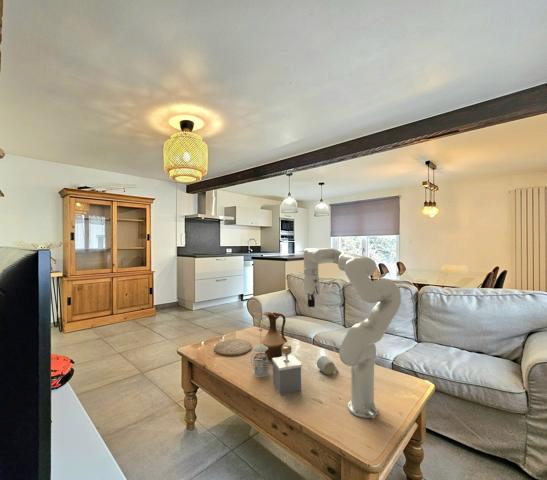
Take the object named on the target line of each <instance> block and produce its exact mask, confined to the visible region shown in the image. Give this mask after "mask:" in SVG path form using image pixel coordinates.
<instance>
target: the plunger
mask: <svg viewBox="0 0 547 480" xmlns="http://www.w3.org/2000/svg"><path fill="white" fill-rule="evenodd" d="M281 352H282V355H283V354H284V356H285V363H287V362H288V356H289V354H290V355H291V354H292V346H291V345H287V344H286V345H283V346H282V347H281Z"/></svg>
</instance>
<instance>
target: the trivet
mask: <svg viewBox="0 0 547 480" xmlns="http://www.w3.org/2000/svg"><path fill="white" fill-rule="evenodd" d="M251 350H252V343H251V342H250V341H248V340H245V339H240V338H239V339H238V338H233V339H225V340H222V341H220V342H217V343H216V344H215V345H214V350H213V351H214V353H215V354H217V355H219V356H222V355H223V357H238V356H243V355H245V354H247V353H249V352H251Z"/></svg>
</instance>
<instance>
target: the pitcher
mask: <svg viewBox="0 0 547 480" xmlns="http://www.w3.org/2000/svg"><path fill="white" fill-rule="evenodd" d="M261 315H263V316H266V317H267V318H268V322H269V328H268V331H267V333H266V334H265V335H264V336H263V337H260V339H259V342H260V344H261V345H265V346H267V347H268V350H267V351H264V353H265V354H267V357H268V360H271V361H272V358H276V357H282V356H283V353H282V352H281V347H282V346H285V345H284V344H286V343H288V339H287V338H286V336H285V335H284V334H285V333H284V330H285V324H286V322H287V321H286V320H287V319H286V316H285V314H284V313H282V312H275V311H273V312H270V311H267V312H262V314H261ZM279 317H282V324H281V329H280V330H281V331H280V332H279V331H278V329H277V320H278V318H279Z"/></svg>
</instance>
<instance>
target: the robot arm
mask: <svg viewBox="0 0 547 480" xmlns="http://www.w3.org/2000/svg"><path fill="white" fill-rule="evenodd" d="M332 263H333V264H337V267H338V269H339V270H340V271H342V272H344V273H345V275H346V277H347V279H348V280H349V282H350V283H351V286H352V287H353V288H354V290H355V291H356V293H357V295H358V296H359V298H360V299H361V300H362V301H363V302H365V303H367V304H375V303H376V304H375V305H374V306H373V307H372V309H371V311H370V313H369V315H368V316H367V318H366V319H364V320H363V321H359V322H357V323H355V324H353V325H352V326H350V328H349V329H348V330H347V333H346V334H345V336H344V338H343V340H342V342H341V344H340V347H339V349H338V351H339V352H338V353H339V354H338V355H339V358H340V361H341V362H342V364H343V365H345V366H347V367H351V369H350V370H351V371H350V373H351V374H350V375H351V377H350V379H351V380H350V381H351V382H350V383H351V384H350V387H351V388H350V390H351V391H350V392H351V393H350V394H351V397H350V398H351V399H350V400H349V401H347V409H348V411H349V412H350V413H351V414H353V415H354V416H355V417H358V418H363V419H370V418H371V419H375V418H376V416H378V414H379V411H378V406H377V405H376V404H375V387H374V385H375V363H376V357H377V347H376V343H379V342H380V341H381V340H382V338H383V337H384V335H385V334H386V332H387V330H388V328H389V326H390V325H391V323H392V321H393V319H394V317H395V316H396V314H397V313H398V311H399V309H400V305H401V302H402V301H401V300H402V296H401V291H400V289H399V286H398V285H397V284H396V283H395V281H393V280H391V279H388V278H387V279H386V278H381V279H375V280H374V279H373V280H371V278H370V277H371V276H373V275H374V274H375V272H376V271H377V263H376V262H375V260H374V259H372V258H370V257H367V256H364V255H363V256H362V255H358V254H353V253H349V252H346V251H345V250H342V249H338V248H334V247H333V248H332V247H326V248H324V247H323V248H313V247H311V248H310V247H309V248H305V249H304V250H303V276H304V279H303V289H304V292H305V294H306V295H307V307H308V308H314V307H315V306H316V304H315V303H316V298H318V295H320V294H321V287H320V286H321V285H320V284H321V283H320V278H319V265H321V264H322V265H323V264H332Z"/></svg>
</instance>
